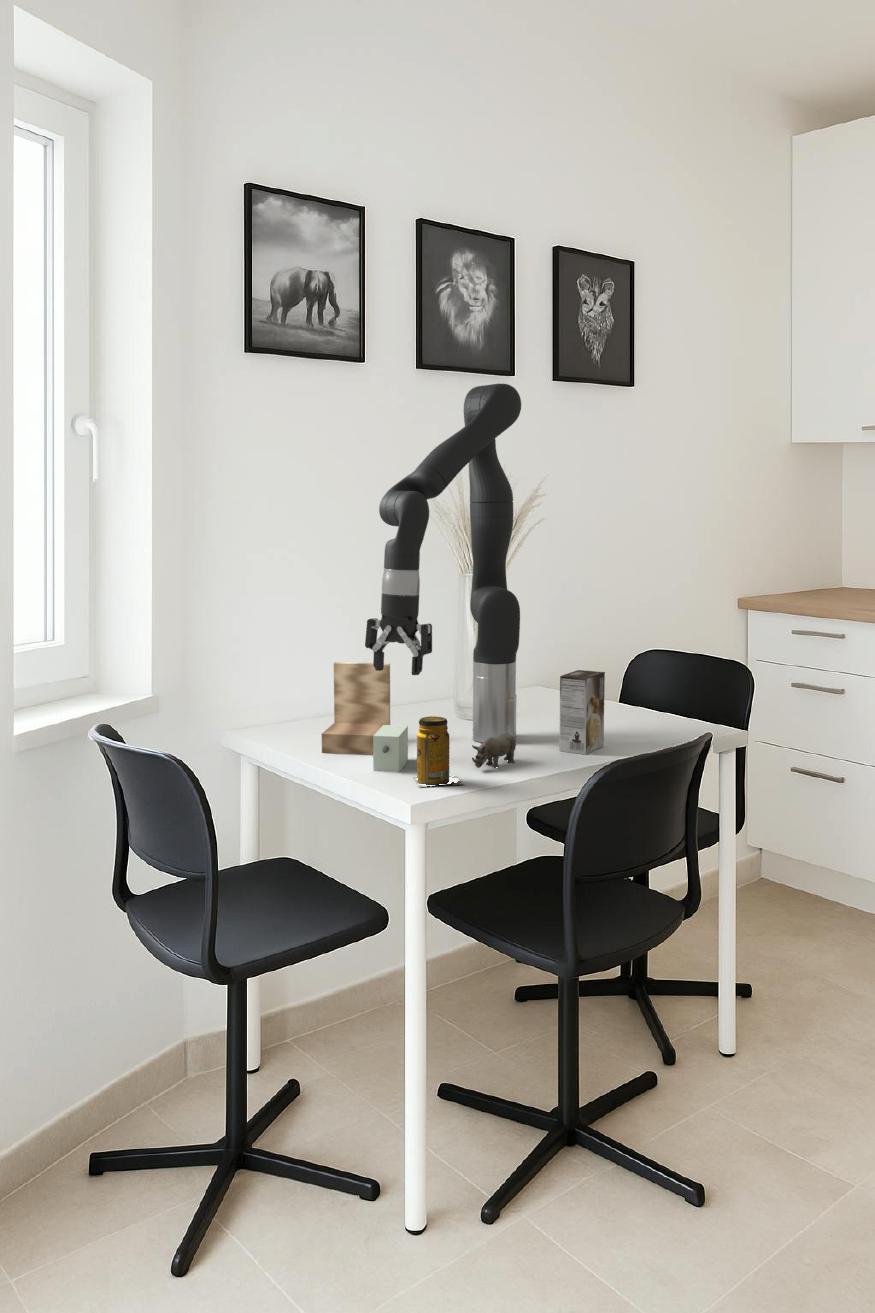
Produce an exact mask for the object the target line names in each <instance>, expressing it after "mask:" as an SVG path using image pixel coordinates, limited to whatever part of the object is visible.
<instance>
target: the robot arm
mask: <svg viewBox="0 0 875 1313" xmlns="http://www.w3.org/2000/svg"><path fill="white" fill-rule="evenodd" d="M521 411H522V399H521V396H520V393H519V392H518V391H517V389H516V388H515V387H514V386H512V385H510V384H508V383H493V384H485V385H478V386H475V387H472V388H471V389H470V390H469V391H468V392H467V393H466V396H465V398H464V402H463V422H464V427H462V428H461V429H460V430H458V431H457V432H456V433H454V434H453V435H451V436H449V437H448V438H447V439H445V440H444V441H442V442H441V443H440V444H438V445H437V446H436V447H435V448H433V449H432V451H430V452H429V454H427V456H426V457H425V458H424V459H423V460H422V461H421V462H420V463H419V465H418V466H417V467H416V468H415V470H413V471H412V472H411V473H410V474H407V476H405V477H404V478H402V479H401V480H400V481H398V482H397V483H395V485H393V486H392V487H390V488H389V489H388V490H387V491H386V493H385V494H384V495H383V496H382V498H381V500H380V502H379V507H378V512H379V516H380V518H381V520H382V521H383V522H384V523H385V524H387V525H388V526H392V527H398V528H397V532H396V536H395V537H394V538H392V539H390V540H388V541H386V543H385V546H384V553H383V554H384V556H383V558H384V561H383V573H382V580H381V603H380V614H381V619H378V618H374V617H373V618H369V619H367V622H366V629H365V630H366V631H365V642H364V647H365V648H366V649H370V650H372V652H373V666H374V667H375V670H376V671H381V670H383V669H384V663H385V652H384V650H385V648H386V647H387V645H388V644H390V643H398V644H405V645H406V647H407V648H408V649H409V650H410V652H411V654H412V655H413V656H411V675H412V676H419V675H421V674H420V673H422V671H423V664H424V663H423V660H424V656H425V655H428V654H432V652H433V625H432V624H431V623H419V620H418V618H419V610H420V609H419V608H420V590H421V589H420V588H421V586H420V585H421V583H420V582H421V579H420V560H421V553H420V551H421V547H422V544H423V542H424V537H425V534H426V531H427V526H428V524H429V519H430V507H429V506H430V505H429V502H428V500H431V499H434V498H437V497H438V496H440V495H441V494H442V493H443V492H444V490H446V488H447V487H448V486H449V485H450V484H451V482H453V480H454V479H455V478H456V477H457V475H458V474H460V472H461V471H462V470H463V469H464V468H465V467H466V466H467V465H468V475H469V476H468V478H469V519H470V520H469V521H470V523H469V524H470V539H471V542H470V544H471V554H472V555H471V556H472V576H471V577H472V578H471V588H470V589H471V591H470V602H469V604H470V605H469V606H470V607H469V608H470V612H471V617H472V618H473V619H474V620H475V622H476V623H477V640H476V644H475V647H474V648H473V650H472V651H473V654H472V655H473V656H472V659H473V660H472V664H473V666H472V667H473V668H472V670H473V671H472V674H473V675H472V739H473V741H476V742H479V743H483V742H484V741H485V740H486V739H487V738H489V737H493V738H496V737H498V736H500V735H501V734H505V733H509V734H510V735H512V736H513V737H514V738H515V739H516V737H517V694H516V692H517V689H516V686H517V683H516V682H517V677H516V675H517V653H518V651H519V646H520V633H521V632H520V631H521V630H520V628H521V608H520V603H519V602H520V601H519V600H518V597H517V596H516V595H515V594H514V593H513V592H512V591H510V590H509V589H508V582H507V569H506V568H507V565H506V564H507V556H508V552H509V547H510V543H511V540H512V534H513V527H514V495H513V490H512V486H511V483H510V482H509V479H508V477H507V475H506V473H505V470H504V469H503V466H502V465H501V463H500V460H499V457H498V453H497V444H496V443H497V441H496V440H497V439H496V438H497V437H498V436H501V434H503V433H504V432H505V431H506V430H508V429H509V428H510V427H511V426H513V424H515V423H516V421H517V420H518V418H519V417H520V413H521ZM379 629H381V631H382V633H381V634H380V635H379V637H378V631H379ZM417 632H418V633H419V635H420V640H419V638H418V636H417V635H416V634H417Z"/></svg>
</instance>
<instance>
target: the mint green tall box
mask: <svg viewBox="0 0 875 1313" xmlns="http://www.w3.org/2000/svg"><path fill="white" fill-rule="evenodd" d="M372 757H373V761H372V762H373V768H372V770H373V772H396V773H397V772H398V773H399V772H400V771H401V770H402V768H403V767H404V765H405V764H406V763H407V761H408V760H409V725H403V724H402V725H401V724H399V725H398V724H397V725H396V724H390V725H383V726H382V727H381V728H380V729H379V730H378V731H377V732H376V733H375V734H374V736H373V755H372Z"/></svg>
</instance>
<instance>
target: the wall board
mask: <svg viewBox="0 0 875 1313" xmlns="http://www.w3.org/2000/svg"><path fill="white" fill-rule="evenodd" d="M333 707H334V708H333V712H334V715H333V717H334V722H333V724H334V723H360V724H389V725H391V663H388V662H387V663H385V662H384V669H383V670H381V671H376V670H375V667H374V666H373V663H372V662H348V661H347V662H345V661H344V662H343V661H341V662H339V661H335V662H333Z"/></svg>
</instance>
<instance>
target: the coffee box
mask: <svg viewBox="0 0 875 1313" xmlns="http://www.w3.org/2000/svg"><path fill="white" fill-rule="evenodd" d="M605 673H606V672H605V671H593V670H582V669H581V670H580V669H579V670H578V669H577V670H575V671H572V672H569V673H565V674H562V675H560V677H559V735H558V736H559V738H558V739H559V744H558V745H559V746H558V747H559V750H558V751H560V752H564V753H571V754H577V755H585V756H586V755H588V754H591V753H592V752H594V751H596V750H598V749H600V748H602V747H604V740H605V738H604V737H605V736H604V735H605V734H604V732H605V730H604V729H605V688H606V687H605V684H606V681H605V678H606V675H605Z"/></svg>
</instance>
